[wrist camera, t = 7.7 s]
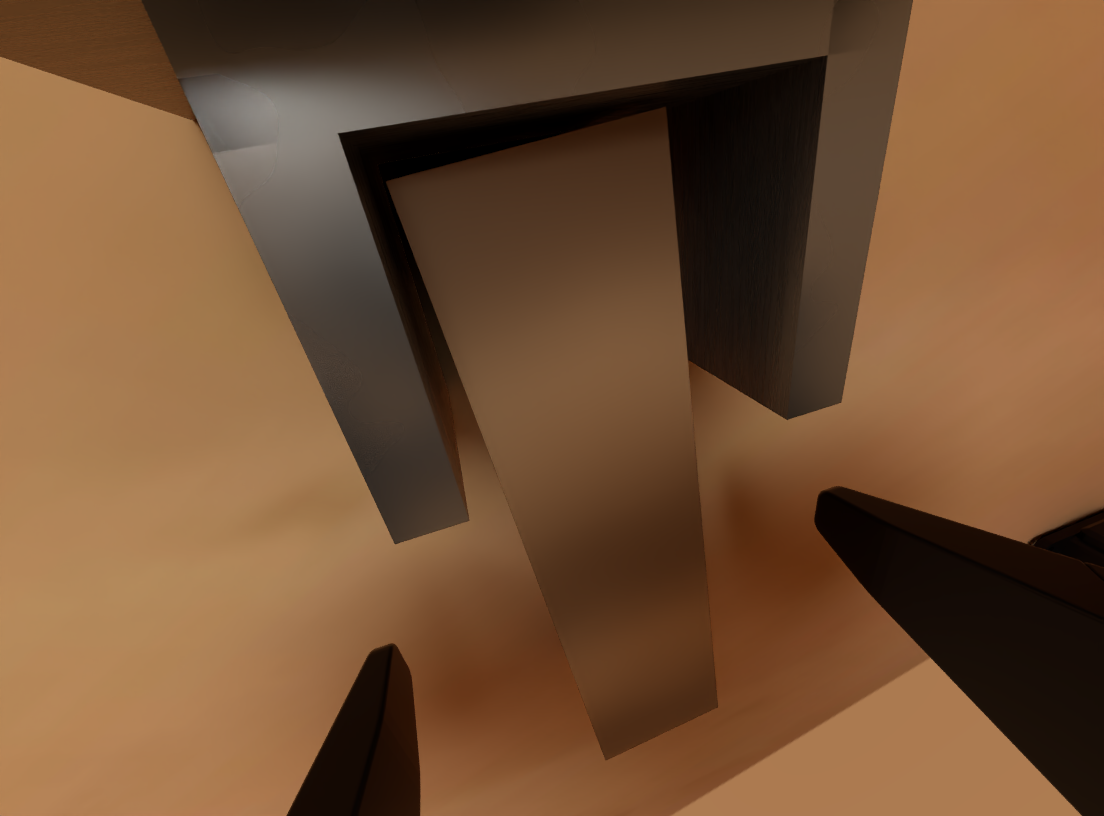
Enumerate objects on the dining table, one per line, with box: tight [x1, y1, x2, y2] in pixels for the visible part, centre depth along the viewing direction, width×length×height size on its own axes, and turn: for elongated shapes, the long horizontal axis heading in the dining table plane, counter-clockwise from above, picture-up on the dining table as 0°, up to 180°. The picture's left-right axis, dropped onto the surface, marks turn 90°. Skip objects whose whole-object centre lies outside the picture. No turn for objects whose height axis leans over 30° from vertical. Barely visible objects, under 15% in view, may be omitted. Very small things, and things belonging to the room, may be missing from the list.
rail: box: [386, 107, 718, 760], centre depth 10 cm, size 15×4×4 cm, turn 14°
